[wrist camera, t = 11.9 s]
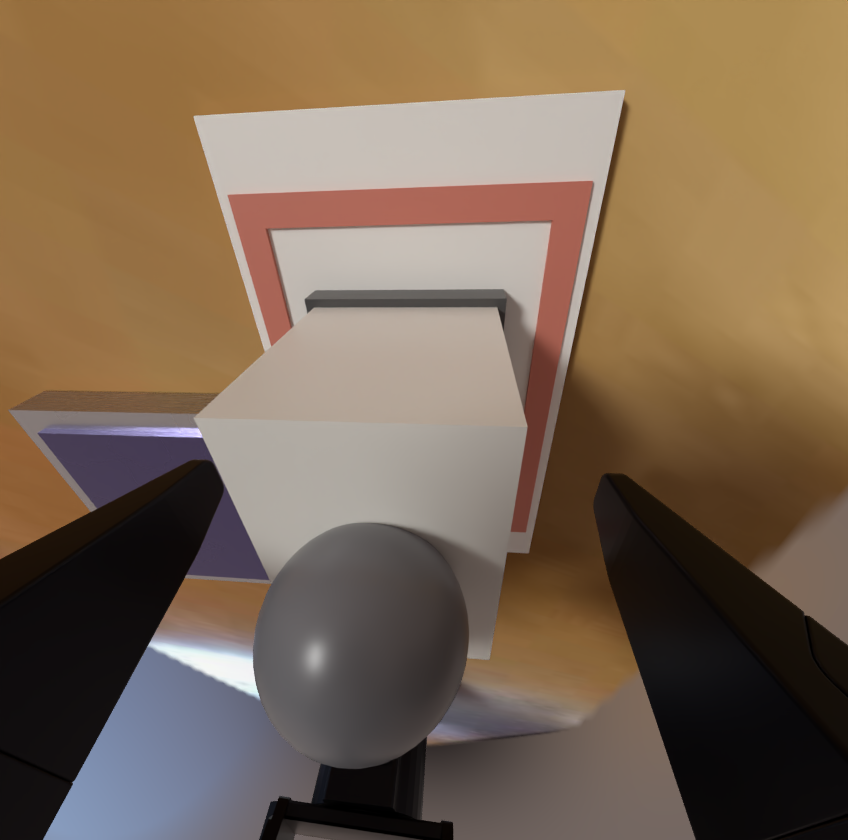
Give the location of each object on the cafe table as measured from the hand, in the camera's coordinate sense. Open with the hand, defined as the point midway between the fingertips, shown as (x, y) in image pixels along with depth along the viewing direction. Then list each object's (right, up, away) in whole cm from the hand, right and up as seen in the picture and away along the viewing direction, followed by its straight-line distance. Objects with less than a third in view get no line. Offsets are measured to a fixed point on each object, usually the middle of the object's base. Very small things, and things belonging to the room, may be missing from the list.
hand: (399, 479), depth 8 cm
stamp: (0, +2, +3) cm, 3 cm away
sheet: (0, +2, +3) cm, 4 cm away
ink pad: (-8, -1, +6) cm, 11 cm away
